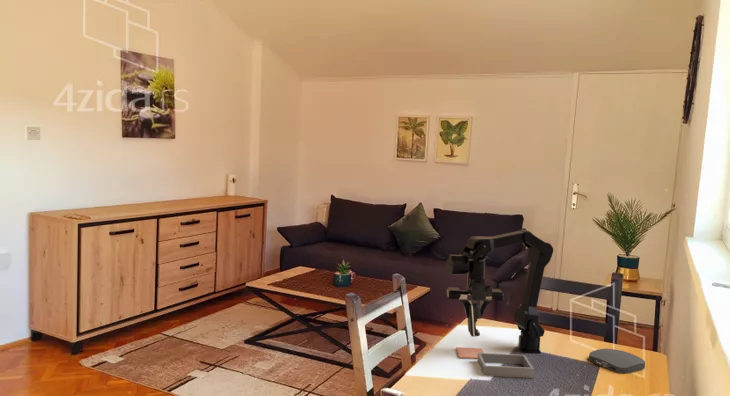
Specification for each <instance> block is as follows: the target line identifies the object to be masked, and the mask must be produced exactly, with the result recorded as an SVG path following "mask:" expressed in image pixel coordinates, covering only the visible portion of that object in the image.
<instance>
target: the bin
mask: <svg viewBox="0 0 730 396" xmlns="http://www.w3.org/2000/svg"><path fill="white" fill-rule="evenodd" d="M476 360H477V361H476V362H477V364H478V366H479V368H480V370H481V373H482V375H483V376H486V377H506V378H524V379H525V378H528V379H534V376H535V368H534V366H533V365H532V364H531V362H530V360H529V358H528V357H527V356H526V355H525V354H518V353H517V354H514V353H513V354H512V353H491V352H484V353H478V359H476ZM487 363H488V364H507V365H509V364H510V365H522V366H523V367H522V366H505V365H502V366H501V365H487Z"/></svg>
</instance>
